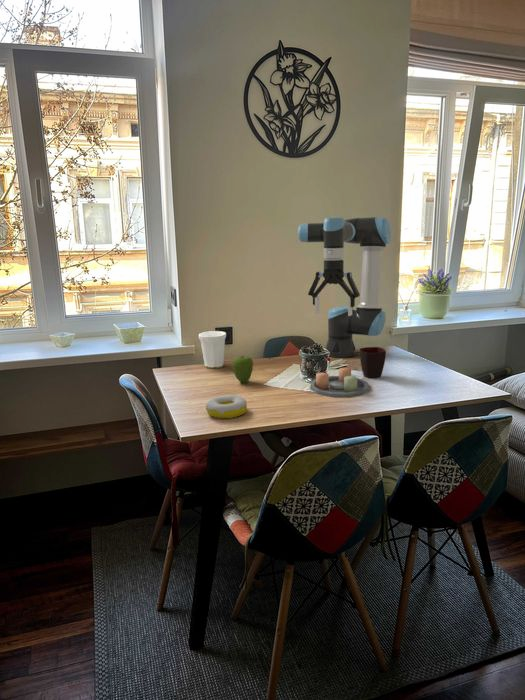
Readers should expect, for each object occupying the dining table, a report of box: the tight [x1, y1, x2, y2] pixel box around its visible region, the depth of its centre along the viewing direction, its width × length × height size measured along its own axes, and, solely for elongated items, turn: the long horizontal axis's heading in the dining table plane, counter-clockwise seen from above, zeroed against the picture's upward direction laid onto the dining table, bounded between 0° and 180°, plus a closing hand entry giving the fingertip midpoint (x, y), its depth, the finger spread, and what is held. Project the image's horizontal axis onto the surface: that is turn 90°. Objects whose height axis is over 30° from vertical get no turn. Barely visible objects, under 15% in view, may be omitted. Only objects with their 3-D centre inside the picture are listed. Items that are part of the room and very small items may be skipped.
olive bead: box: [344, 375, 358, 393], centre depth 189 cm, size 5×5×6 cm
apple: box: [232, 355, 254, 384], centre depth 206 cm, size 9×8×12 cm
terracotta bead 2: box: [338, 367, 352, 382], centre depth 200 cm, size 5×5×6 cm
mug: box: [359, 346, 387, 379], centre depth 209 cm, size 10×14×12 cm
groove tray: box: [309, 375, 370, 398], centre depth 195 cm, size 22×22×2 cm
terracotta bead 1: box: [315, 372, 330, 390], centre depth 194 cm, size 5×5×6 cm
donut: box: [205, 394, 248, 419], centre depth 174 cm, size 14×14×5 cm
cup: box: [198, 330, 227, 368], centre depth 231 cm, size 12×12×15 cm
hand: (333, 314), depth 197 cm, fingers open, 13 cm apart
